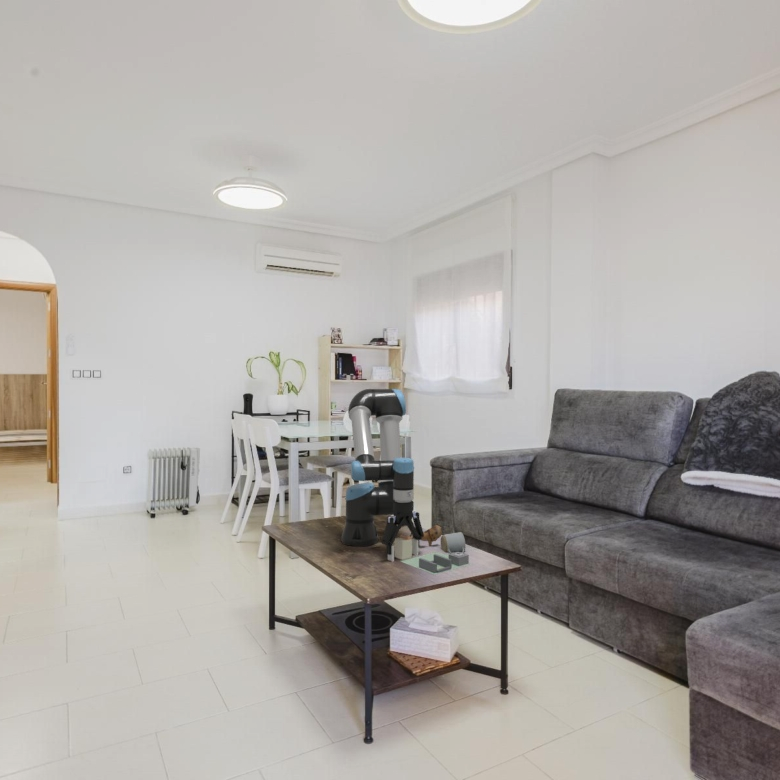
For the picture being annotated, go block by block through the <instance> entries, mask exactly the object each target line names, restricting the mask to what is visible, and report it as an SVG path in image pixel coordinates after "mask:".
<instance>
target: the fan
mask: <svg viewBox="0 0 780 780" xmlns="http://www.w3.org/2000/svg"><path fill="white" fill-rule="evenodd" d="M451 553H452V554H449V553H448V556H449V559H451V560H452V564H454V565H456V566H462V565H465V564H468V563H470V559H469V554H466V553H462V552H451Z"/></svg>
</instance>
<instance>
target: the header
mask: <svg viewBox="0 0 780 780" xmlns="http://www.w3.org/2000/svg"><path fill="white" fill-rule="evenodd" d="M437 565H440V566H443V567H444V568H441V567H438V568H441V569H437ZM419 567H420V568H422V569H425V570H428V571H430V572H433V573H439V574H441V573H440V572H443V571H446V572H448V571H447V570H450V569H451V568H452V560H451V559H448V558H445V557H442V556H439V555H436V554H435V555H434V561H428V560H425V559H422V558H419ZM450 571H451V570H450ZM443 573H444V572H443Z"/></svg>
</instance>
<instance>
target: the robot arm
mask: <svg viewBox="0 0 780 780" xmlns="http://www.w3.org/2000/svg"><path fill="white" fill-rule="evenodd" d="M347 413H348V419H349V420H351V421H350V422H351V429H352V441H353V451H354V452H353V453H354V460H353V461H351V462H350V476H351V480H353V481H355V482H356V481H357V482H363V483H356V484H352V485H350V486H348V487H347V488H346V491H345V498H344V499H345V524H344V526H343V530H342V534H341V541H342V542H341V543H342V544H343V543H344V545H346V544H347V546H350V545H352V546H351V547H366V546H367V547H368V546H371V545H375V544H377V543H378V542H379V534H378V531H377V527H376V525H375V516H387V517H386V526H385V528H384V532H383V536H382V539H381V544H382V545H385V546H386V554H387V560H388V561H390V562H391V563H392V562H395V545H394V543H395V538H397V536H398V533H399V531H400V530H401V529H402V527H406V526H407V528H408V530H409V532H410V534H411V533H412V535H413V537H414V538H415V539H412V538H411V539H412V555H415V556H418V555H419V548H420V541H422V540H421V539H422V537H423V536H424V533H423V532H424V530H423V528H422V527H423V526H422V522H421V520H420V513H419V512H418V511H414V505H415V504H414V503H415V502H414V494H415V493H414V489H415V488H414V483H415V482H414V480H415V479H414V478H415V477H414V473H415V471H414V470H415V466H414V463H415V462H414V459H413V458H409V457H402V452H401V450H402V449H401V435H400V434H401V433H400V431H401V430H400V423H401V421H402V420H403V416H405V415H406V413H407V405H406V399H405V396H404V393H403V391H402V390H401V389H398V388H396V389H395V388H366V389H363V390H361V391H359V392H358V393H356V394H355V395H354V396H353V398H352V399H351V401H350V403H349V405H348V410H347ZM372 416H374V417H375V421H376V422H377V423H378V424H379V441H380V442H379V444H380V445H379V446H380V460H375V453H374V445H373V438H372V430H371V421H370V419H371V417H372ZM366 481H368V482H366ZM369 481H378V483H377V484H378V486H375V485H374V483H372V482H369Z"/></svg>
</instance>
